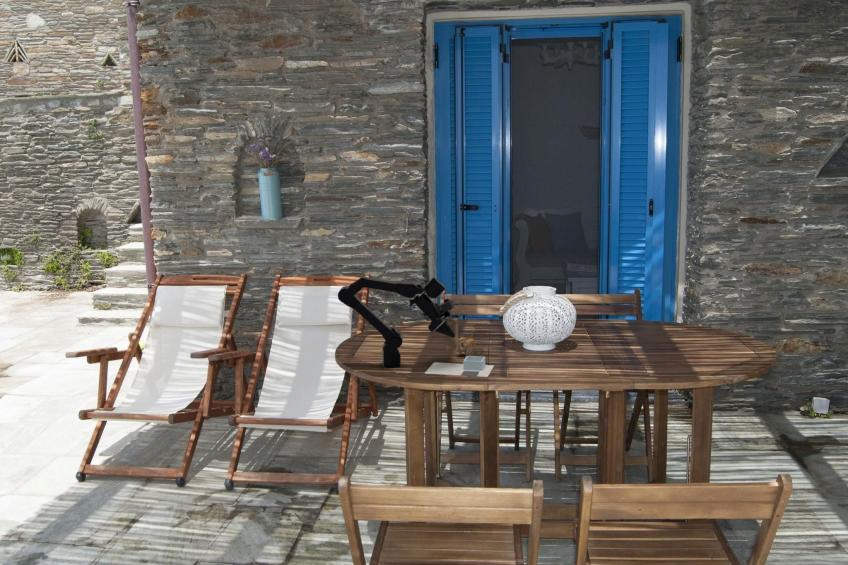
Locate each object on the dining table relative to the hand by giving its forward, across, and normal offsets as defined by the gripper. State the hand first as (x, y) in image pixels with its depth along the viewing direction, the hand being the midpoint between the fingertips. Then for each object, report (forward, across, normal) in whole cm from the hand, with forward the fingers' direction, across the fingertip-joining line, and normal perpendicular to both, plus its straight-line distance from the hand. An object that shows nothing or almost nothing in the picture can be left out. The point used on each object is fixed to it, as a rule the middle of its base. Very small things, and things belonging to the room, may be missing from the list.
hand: (455, 335), depth 305 cm
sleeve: (+14, -3, +2) cm, 14 cm away
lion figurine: (+10, +17, +8) cm, 21 cm away
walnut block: (+4, 0, +6) cm, 7 cm away
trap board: (+11, -7, +7) cm, 14 cm away
